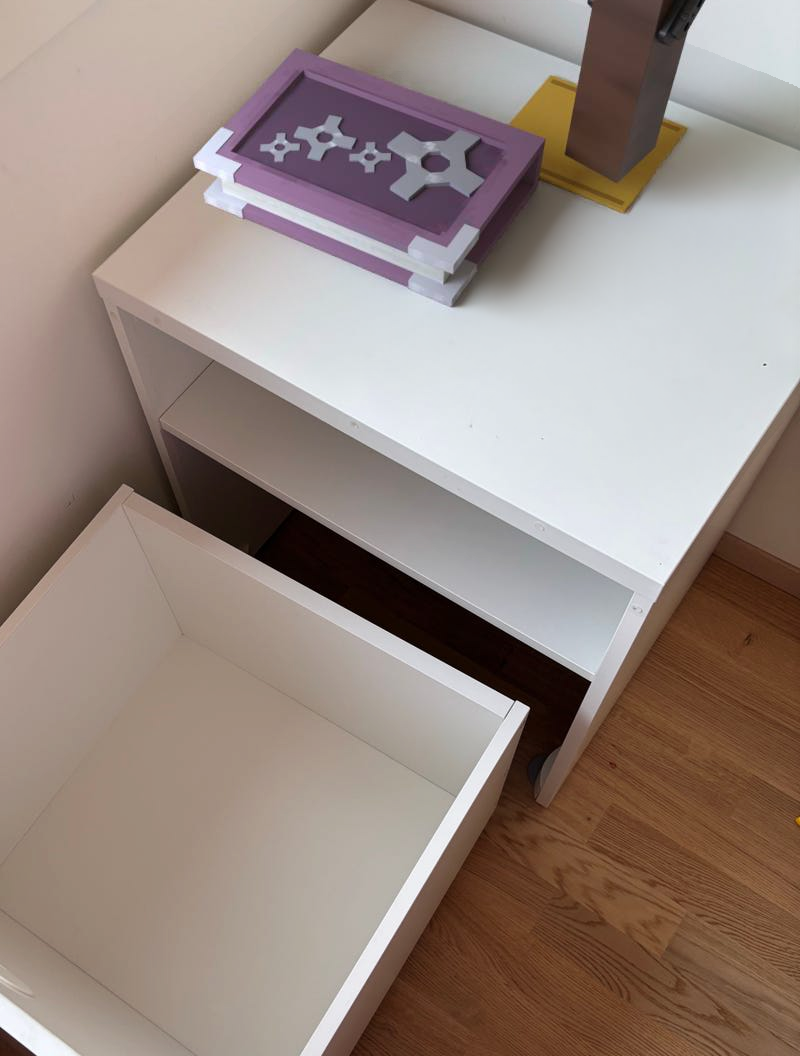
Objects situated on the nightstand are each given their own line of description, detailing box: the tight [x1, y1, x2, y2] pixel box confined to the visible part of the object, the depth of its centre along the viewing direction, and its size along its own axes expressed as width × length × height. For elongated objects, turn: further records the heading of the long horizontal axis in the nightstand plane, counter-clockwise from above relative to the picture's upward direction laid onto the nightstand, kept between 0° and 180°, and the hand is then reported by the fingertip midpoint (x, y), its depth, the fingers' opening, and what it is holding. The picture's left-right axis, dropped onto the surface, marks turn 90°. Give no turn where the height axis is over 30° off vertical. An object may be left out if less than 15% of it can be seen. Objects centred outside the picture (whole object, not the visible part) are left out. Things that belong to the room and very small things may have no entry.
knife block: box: [565, 0, 689, 183], centre depth 78 cm, size 6×6×16 cm
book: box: [192, 47, 546, 308], centre depth 87 cm, size 25×16×5 cm, turn 58°
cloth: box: [508, 74, 688, 214], centre depth 90 cm, size 14×12×1 cm
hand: (628, 24), depth 74 cm, fingers closed on knife block, 5 cm apart
